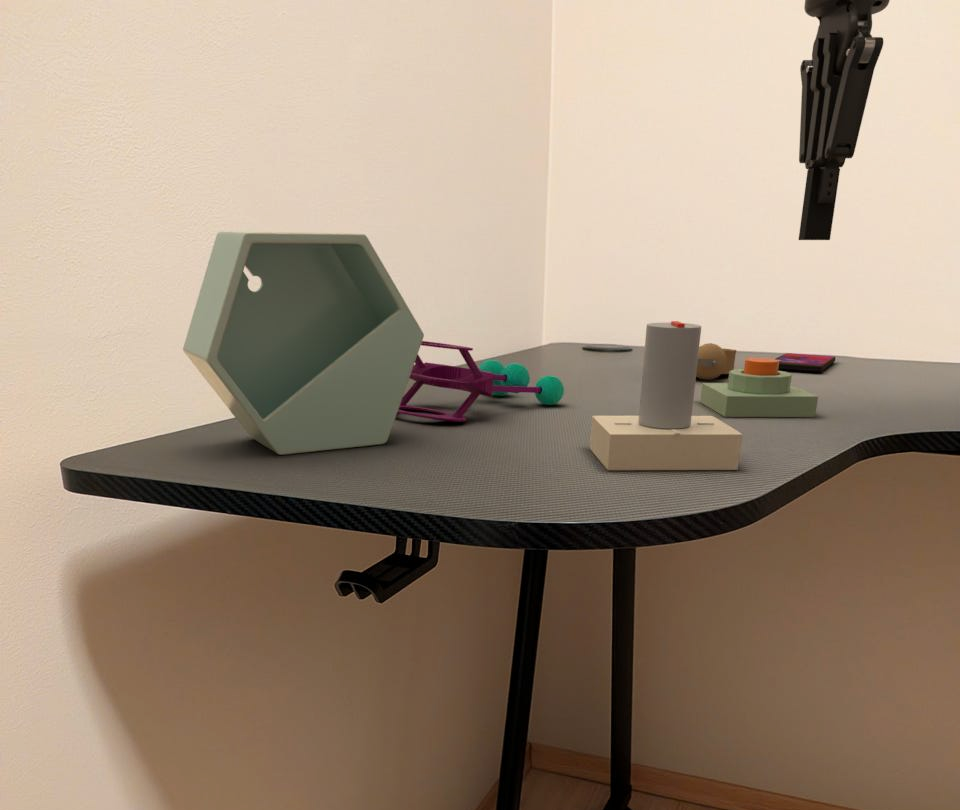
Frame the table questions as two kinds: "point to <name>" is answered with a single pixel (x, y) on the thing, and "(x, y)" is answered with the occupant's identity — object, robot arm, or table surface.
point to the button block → (758, 396)
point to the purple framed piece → (476, 382)
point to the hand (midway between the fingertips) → (814, 239)
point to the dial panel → (665, 445)
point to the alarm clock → (714, 361)
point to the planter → (304, 339)
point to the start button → (761, 366)
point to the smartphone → (804, 362)
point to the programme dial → (669, 374)
